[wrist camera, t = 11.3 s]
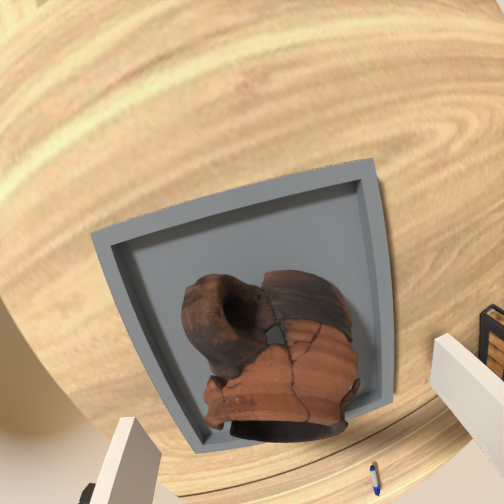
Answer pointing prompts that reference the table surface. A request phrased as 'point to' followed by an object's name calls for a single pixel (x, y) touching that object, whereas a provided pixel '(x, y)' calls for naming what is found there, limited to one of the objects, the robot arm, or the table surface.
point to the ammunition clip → (492, 340)
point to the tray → (254, 277)
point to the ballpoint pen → (374, 480)
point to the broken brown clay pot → (273, 355)
